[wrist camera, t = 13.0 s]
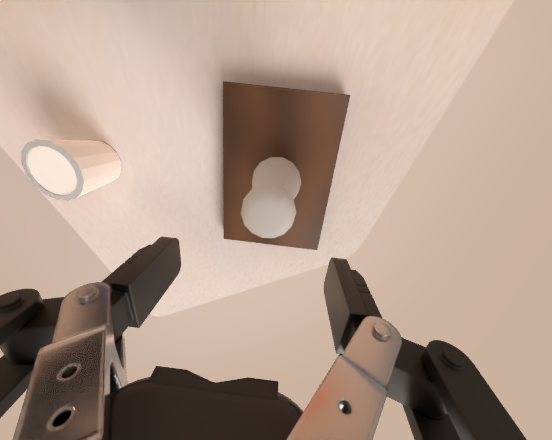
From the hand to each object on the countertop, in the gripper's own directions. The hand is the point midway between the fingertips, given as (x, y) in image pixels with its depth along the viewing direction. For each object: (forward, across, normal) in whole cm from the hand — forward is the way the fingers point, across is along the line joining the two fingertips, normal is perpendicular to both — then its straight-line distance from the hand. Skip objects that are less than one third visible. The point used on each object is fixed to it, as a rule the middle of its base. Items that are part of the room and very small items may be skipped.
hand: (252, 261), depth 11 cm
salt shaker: (+18, 0, 0) cm, 18 cm away
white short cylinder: (+20, +25, +1) cm, 32 cm away
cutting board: (+20, 0, 0) cm, 20 cm away
